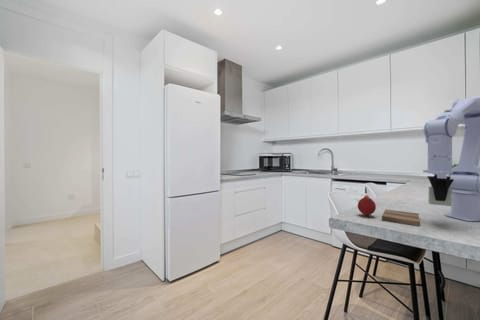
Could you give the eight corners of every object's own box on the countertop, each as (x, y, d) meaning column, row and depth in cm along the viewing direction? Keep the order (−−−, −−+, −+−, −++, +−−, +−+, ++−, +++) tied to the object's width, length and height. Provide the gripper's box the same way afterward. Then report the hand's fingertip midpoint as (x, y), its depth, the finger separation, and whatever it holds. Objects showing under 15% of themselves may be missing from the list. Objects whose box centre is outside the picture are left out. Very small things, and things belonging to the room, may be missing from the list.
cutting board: (385, 213, 84) (385, 209, 84) (418, 217, 78) (418, 213, 78) (381, 220, 74) (381, 216, 74) (419, 226, 68) (419, 221, 68)
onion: (378, 218, 77) (378, 196, 76) (360, 218, 78) (360, 196, 78) (372, 214, 82) (372, 193, 82) (355, 213, 83) (355, 193, 83)
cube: (428, 201, 72) (428, 186, 72) (449, 203, 69) (449, 187, 69) (429, 204, 68) (429, 188, 68) (451, 206, 65) (451, 189, 65)
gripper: (422, 156, 77) (422, 194, 77) (424, 157, 65) (423, 201, 66) (449, 156, 72) (449, 196, 73) (456, 156, 61) (456, 204, 61)
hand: (439, 199), depth 69 cm, fingers closed on cube, 5 cm apart
